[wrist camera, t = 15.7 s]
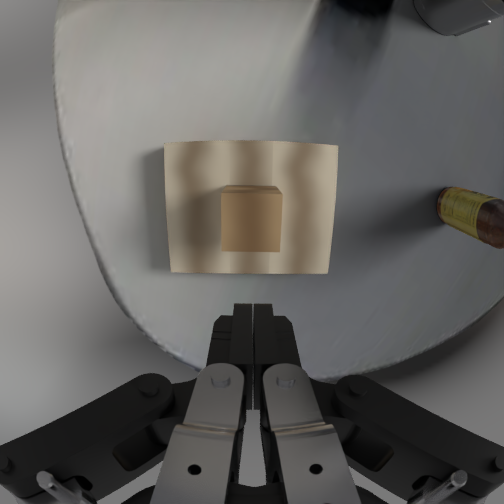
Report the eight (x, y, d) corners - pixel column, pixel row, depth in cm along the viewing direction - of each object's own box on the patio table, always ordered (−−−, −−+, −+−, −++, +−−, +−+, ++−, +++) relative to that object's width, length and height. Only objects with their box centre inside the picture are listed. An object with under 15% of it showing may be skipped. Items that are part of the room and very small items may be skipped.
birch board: (329, 146, 33) (338, 145, 29) (321, 263, 38) (327, 273, 35) (172, 144, 32) (164, 143, 29) (177, 261, 38) (171, 272, 34)
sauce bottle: (465, 201, 35) (555, 239, 16) (447, 230, 36) (534, 282, 18) (446, 175, 33) (545, 204, 15) (427, 206, 35) (523, 251, 17)
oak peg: (273, 183, 34) (282, 194, 25) (272, 226, 36) (279, 252, 27) (228, 182, 34) (221, 193, 25) (228, 226, 36) (221, 251, 27)
